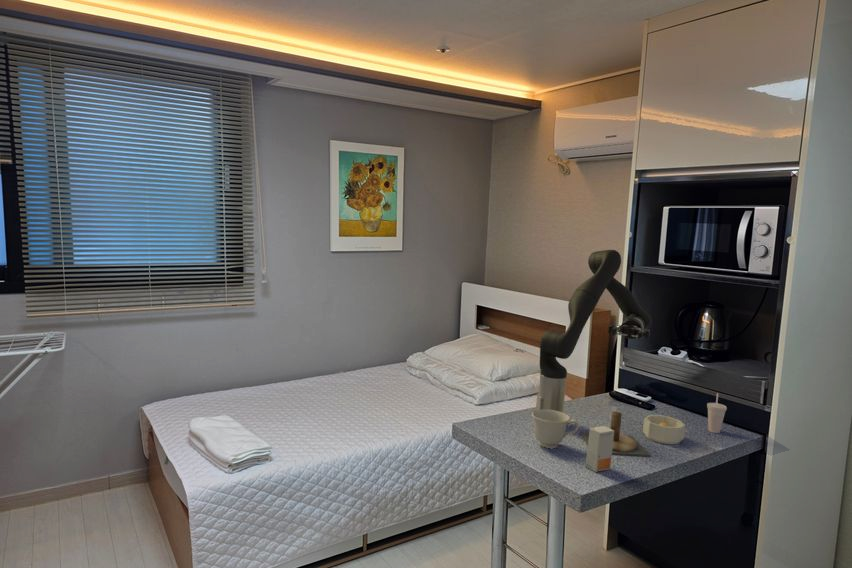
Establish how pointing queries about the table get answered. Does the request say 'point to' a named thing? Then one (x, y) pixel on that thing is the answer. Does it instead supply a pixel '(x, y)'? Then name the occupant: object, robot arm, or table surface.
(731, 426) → the table surface
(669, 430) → the bowl
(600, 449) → the skincare box
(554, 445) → the teacup
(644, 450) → the mat
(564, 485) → the table surface
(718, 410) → the smoothie
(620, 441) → the lid
